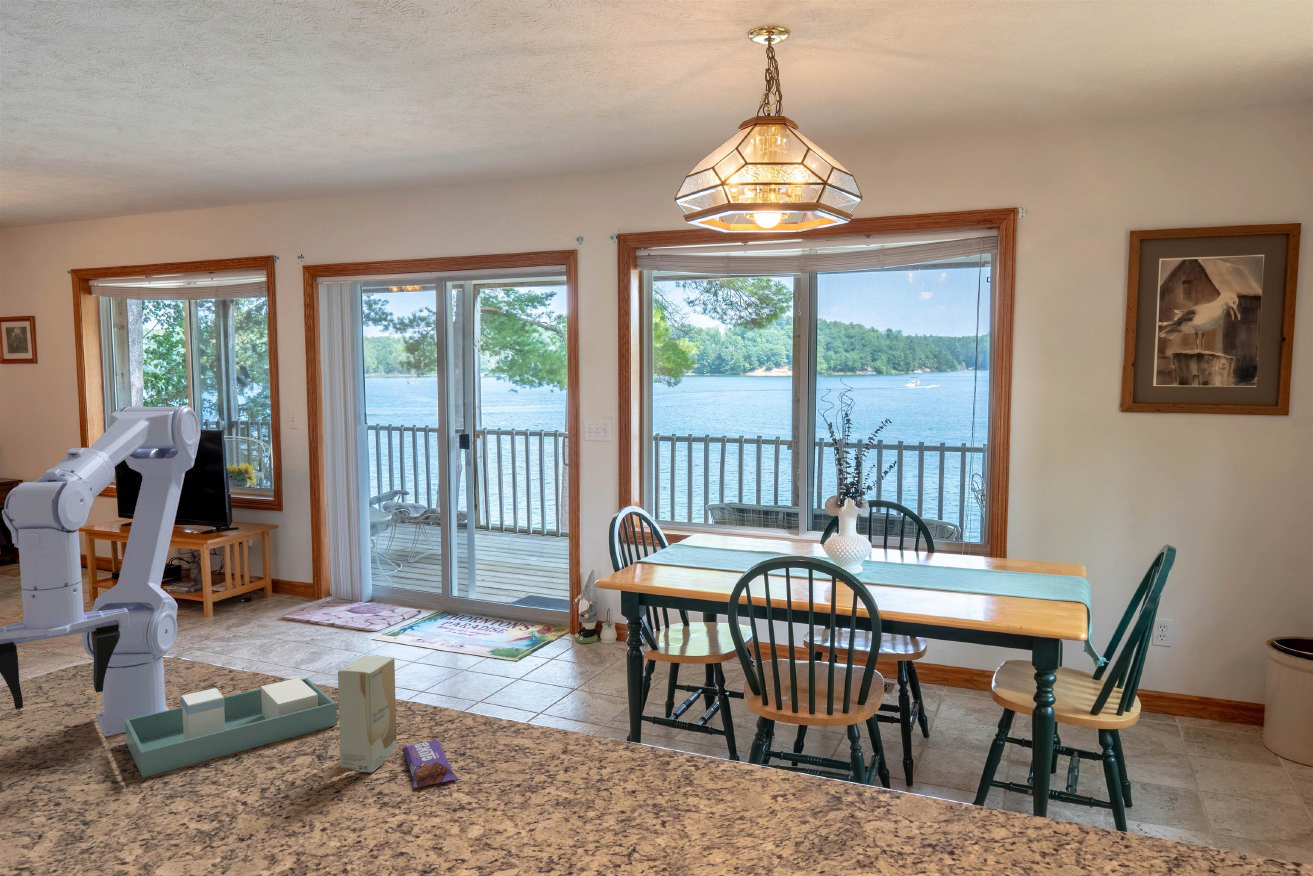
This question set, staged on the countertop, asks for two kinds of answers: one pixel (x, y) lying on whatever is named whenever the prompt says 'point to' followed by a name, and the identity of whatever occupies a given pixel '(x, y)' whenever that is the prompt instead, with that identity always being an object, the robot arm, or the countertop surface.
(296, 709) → the white box
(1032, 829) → the countertop surface
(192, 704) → the milk carton
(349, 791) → the countertop surface
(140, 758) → the tray
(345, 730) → the skincare box
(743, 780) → the countertop surface
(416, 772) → the snack package
